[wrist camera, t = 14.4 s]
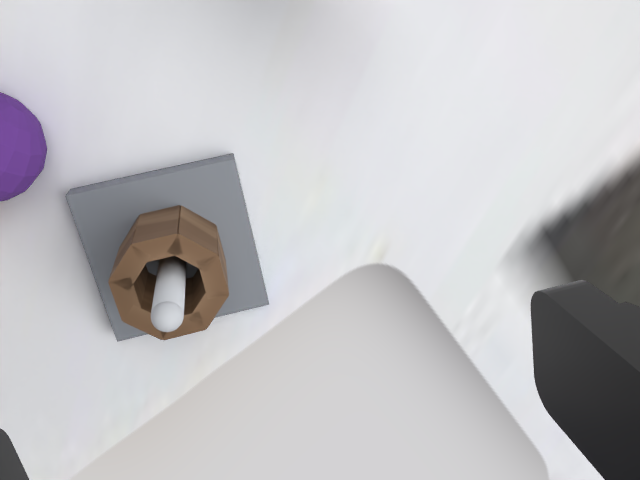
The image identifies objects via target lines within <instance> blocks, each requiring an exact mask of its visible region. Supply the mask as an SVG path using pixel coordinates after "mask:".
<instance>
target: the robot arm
mask: <svg viewBox="0 0 640 480" xmlns="http://www.w3.org/2000/svg"><path fill="white" fill-rule="evenodd" d="M531 322H532V342H533V362H534V378H535V383H536V387H537V390H538V393H539V396H540V399H541V401H542V403H543V405H544V407H545V409H546V410H547V412H548V413H549V415H550V416H551V417H552V418H553V420H554V421H555V422H556V423H557V424H558V425H559V427H560V428H561V429H562V430H563V431H564V432H565V434H566V435H567V436H568V437H569V438H570V439H571V441H572V442H573V443H574V444H575V445H576V446H577V448H578V449H579V450H580V451H581V452H582V453H583V455H584V456H585V457H586V458H587V459H588V461H589V462H590V463H591V464H592V465H593V466H594V468H595V469H596V470H597V471H598V472H599V473H600V475H601V476H602V477H603V478H604V479H605V480H640V307H639V306H636V305H633V304H630V303H627V302H624V303H621V304H619V303H618V302H616V301H615V300H613V299H612V298H611V297H609V296H608V295H606V294H605V293H604V292H602V291H601V290H599V289H598V288H597V287H595V286H594V285H592V284H591V283H589V282H588V281H585V280H579V281H575V282H571V283H567V284H564V285H560V286H556V287H552V288H548V289H544V290H540V291H537V292H535V293H534V294H533V296H532V299H531ZM0 480H29V478H28V476H27V474H26V472H25V470H24V468H23V465H22V463H21V461H20V459H19V457H18V455H17V453H16V450H15V448H14V446H13V444H12V442H11V440H10V438H9V436H8V435H7V434H6V432H4V431H3V430H2V429H0Z"/></svg>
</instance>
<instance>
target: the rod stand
mask: <svg viewBox="0 0 640 480" xmlns="http://www.w3.org/2000/svg"><path fill="white" fill-rule="evenodd" d="M66 199H67V202H68V204H69V207H70V210H71V213H72V216H73V218H74V221H75V224H76V227H77V230H78V232H79V235H80V238H81V241H82V244H83V247H84V249H85V252H86V255H87V258H88V261H89V263H90V266H91V269H92V272H93V275H94V277H95V280H96V283H97V286H98V289H99V291H100V294H101V297H102V300H103V303H104V306H105V308H106V311H107V314H108V317H109V320H110V322H111V325H112V328H113V331H114V334H115V336H116V339H117V341H122V340H126V339H130V338H134V337H138V336H142V335H146V334H148V333H145V332H143V331H141V330H139V329H137V328H135V327H133V326H130V325H128V324H126V323H124V322H123V321H122V320H121V317H120V314H119V312H118V309H117V306H116V303H115V300H114V298H113V295H112V292H111V289H110V286H109V283H108V280H109V277H110V274H111V271H112V268H113V265H114V262H115V259H116V256H117V253H118V250H119V247H120V245H121V244H122V242H123V241H124V239H125V237H126V236H127V234H128V232H129V231H130V229H131V227H132V226H133V224H134V223H135V221H136V219H137V218H138V216H139V215H140V214H143V213H147V212H152V211H156V210H160V209H165V208H169V207H173V206H178V205H180V206H181V205H182V206H183V207H185V208H187V209H189V210H191V211H192V212H194V213H196V214H198V215H200V216H201V217H203V218H205V219H207V220H209V221H210V222H212V223H214V224H216V226H217V229H218V233H219V237H220V241H221V244H222V248H223V252H224V256H225V259H226V268H227V278H228V287H229V296H228V298H227V299H226V301H225V302H224V304H223V305H222V307H221V308H220V310H219V311H218V313H217V314H216V316H215V317H219V316H223V315H227V314H231V313H236V312H240V311H244V310H248V309H252V308H256V307H260V306H264V305H268V304H269V302H268V297H267V293H266V289H265V285H264V280H263V276H262V272H261V268H260V263H259V259H258V255H257V251H256V247H255V242H254V238H253V234H252V230H251V226H250V221H249V217H248V213H247V209H246V205H245V200H244V196H243V192H242V188H241V184H240V179H239V175H238V171H237V167H236V162H235V158H234V154H229V155H224V156H220V157H215V158H210V159H206V160H201V161H197V162H192V163H188V164H183V165H178V166H174V167H169V168H165V169H160V170H156V171H151V172H146V173H142V174H137V175H133V176H128V177H123V178H119V179H114V180H110V181H105V182H101V183H96V184H91V185H87V186H82V187H78V188H73V189H70V191H69V192H68V193H67V195H66ZM146 267H147V270H148V272H149V273H151V274H153V275H155V276H157V278H156V284H155V291H154V297H153V303H152V310H151V321H152V324H153V325H154V327H155V328H156V329H158V330H160V331H162V332H171V331H174V330H176V329H177V328H178V327H179V326H180V325H181V324H182V322H183V318H184V303H185V283H186V279H187V278H191V277H193V276H194V275H195V273H196V272H197V270H198V269H199V268H197V267H195V266H193V265H192V264H190V263H188V262H186V261H184V260H182V259H180V258H178V257H176V256H171V257H167V258H163V259H159V260H154V261H150V262H147V263H146ZM215 317H214V318H215Z"/></svg>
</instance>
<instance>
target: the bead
mask: <svg viewBox="0 0 640 480" xmlns="http://www.w3.org/2000/svg"><path fill="white" fill-rule="evenodd" d="M171 256H176V257H178V258H180V259H182V260H184V261H186V262H188V263H190V264H192V265H193V266H195V267H197V268H199V269H198V270H197V272H196V273H195V275H194V276H193V277H191V278H187V279H186V283H185V303H184V318H183V322H182V324H181V325H180V326H179V327H178V328H177V329H176V330H174V331H171V332H162V331H160V330H158V329H156V328H155V327H154V325H153V324H152V321H151V310H152V303H153V297H154V291H155V284H156V278H157V276H155V275H153V274H151V273H149V272H148V270H147V267H146V263H147V262H150V261H154V260H159V259H163V258H167V257H171ZM108 283H109V286H110V289H111V292H112V295H113V298H114V300H115V303H116V306H117V309H118V312H119V314H120V317H121V320H122V321H123V322H124V323H126V324H128V325H130V326H133V327H135V328H137V329H139V330H141V331H143V332H145V333H148V334H150V335H152V336H154V337H156V338H158V339H160V340H167V339H171V338H175V337H179V336H183V335H187V334H191V333H195V332H199V331H203V330H206V329H207V328H208V326H209V325H210V323H211V322H212V320H213V319H214V317H215V316H216V314H217V313H218V311H219V310H220V308H221V307H222V305H223V304H224V302H225V301H226V299H227V298H228V296H229V287H228V278H227V268H226V259H225V256H224V252H223V248H222V244H221V241H220V237H219V233H218V229H217V226H216V224H214V223H212V222H210V221H209V220H207V219H205V218H203V217H201V216H200V215H198V214H196V213H194V212H192V211H191V210H189V209H187V208H185V207H183V206H182V205H181V206H180V205H178V206H173V207H169V208H165V209H160V210H156V211H152V212H147V213H143V214H140V215H139V216H138V218H137V219H136V221H135V223H134V224H133V226H132V227H131V229H130V231H129V232H128V234H127V236H126V237H125V239H124V241H123V242H122V244H121V245H120V247H119V250H118V253H117V256H116V259H115V262H114V265H113V268H112V271H111V274H110V277H109V280H108ZM205 328H206V329H205Z"/></svg>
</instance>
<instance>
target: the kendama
mask: <svg viewBox="0 0 640 480" xmlns="http://www.w3.org/2000/svg"><path fill="white" fill-rule="evenodd" d="M46 153H47V146H46V141H45V138H44V134H43V131H42V127H41V124H40V122H39V121H38V119H37V118H36V117H35V115H33V114H32V113H31V112H30V111H29V110H28V109H27V108H26V107H25V106H24V105H23V104H22V103H21V102H19V101H18V100H16V99H14V98H12V97H10V96H8V95H6V94H4V93H1V92H0V201H5V200H9V199H11V198H13V197H15V196H17V195H19V194H21V193H23V192H25V191H26V190H27V189H28V188H29V186H30V185H31V184H32V183H33V181H34V180H35V179H36V178H37V176H38V175H39V174H40V172H41V171H42V170H43V168H44V163H45V158H46Z"/></svg>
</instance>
